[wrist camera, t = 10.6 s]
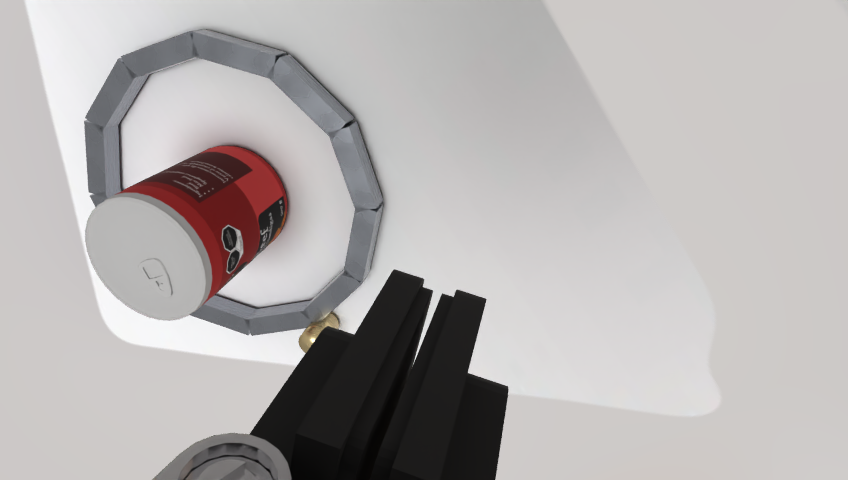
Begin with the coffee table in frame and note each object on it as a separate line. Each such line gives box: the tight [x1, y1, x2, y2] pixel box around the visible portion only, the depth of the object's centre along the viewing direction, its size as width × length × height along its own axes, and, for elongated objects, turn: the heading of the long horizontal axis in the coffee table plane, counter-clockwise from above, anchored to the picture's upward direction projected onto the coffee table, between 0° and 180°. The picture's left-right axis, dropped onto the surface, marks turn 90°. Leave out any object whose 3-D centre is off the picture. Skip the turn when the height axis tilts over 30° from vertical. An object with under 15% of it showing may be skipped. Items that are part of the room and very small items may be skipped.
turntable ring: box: [84, 29, 383, 353], centre depth 40 cm, size 22×22×3 cm
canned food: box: [85, 146, 287, 321], centre depth 37 cm, size 8×8×11 cm
